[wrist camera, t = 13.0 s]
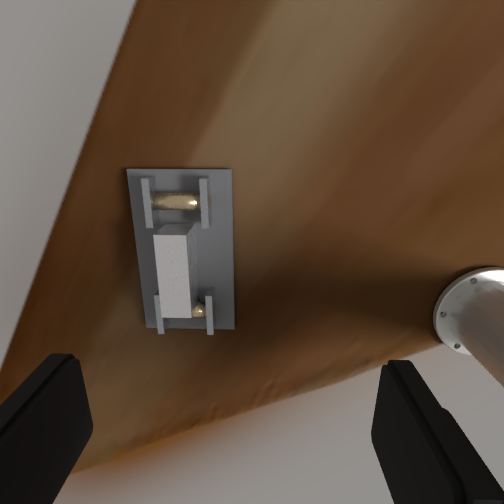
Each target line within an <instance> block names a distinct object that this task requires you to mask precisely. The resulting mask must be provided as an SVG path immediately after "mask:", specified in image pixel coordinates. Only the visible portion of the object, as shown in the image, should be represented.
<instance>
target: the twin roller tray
mask: <svg viewBox="0 0 504 504" xmlns="http://www.w3.org/2000/svg"><path fill="white" fill-rule="evenodd" d="M141 185H142V194H143V203H144V212H145V221H146V228H154V227H155V226H156V225H158V224H159V223H160V219H159V210H193V211H201V224H202V229H209V227H210V226H211V224H212V211H211V187H210V176H203V177H201V178H200V179H199V186H200V193H157V188H156V177H155V176H147V177H144V178H141ZM205 300H206V302H198V303H197V305H196V308H195V311H194V313H193V316H192V318H206V320H207V335H214V331H215V327H216V308H215V287H208V290H207V293H206V295H205ZM154 301H155V310H156V319H157V328H158V334H165V332H166V330H167V328H168V326H169V324H170V322H169V318H162V316H161V306H160V296H159V289H158V290H157V291H156V293H155V294H154Z"/></svg>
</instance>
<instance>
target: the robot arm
mask: <svg viewBox="0 0 504 504" xmlns="http://www.w3.org/2000/svg"><path fill="white" fill-rule="evenodd" d="M433 324H434V329H435V331H436V333H437V335H438V336H439V338H440V339H441V340H442V341H443V342H444V343H445V344H446V345H447V346H448V347H449V348H450V349H452V350H454V351H456V352H459V353H461V354H465V355H473V356H474V357H475V358H476V359H477V360H478V361H479V362H480V363H481V365H483V366H484V368H485V369H486V370H487V371H488V372H489V373H490V374H491V375H492V376H493V377H494V378H495V379H496V380H497V381H498V382H499V383H500V384H501V385H502V386H503V387H504V268H501V267H487V268H481V269H477V270H474V271H471V272H468V273H466V274H464V275H462V276H460V277H459V278H458V279H456V280H455V281H453V282H452V283H451V284H450V285H449V286H448V287H447V288H446V289H445V290H444V291H443V293H442V294H441V295H440V297H439V298H438V301H437V303H436V305H435V308H434V312H433ZM92 431H93V422H92V417H91V412H90V408H89V403H88V398H87V394H86V389H85V384H84V380H83V375H82V370H81V366H80V362H79V360H78V359H75V357H74V355H73V354H56V353H53V354H51V355H49V356H48V357H47V358H46V359H45V360H44V361H43V362H42V363H41V364H40V365H39V366H38V367H37V368H36V369H35V370H34V371H33V372H32V373H31V375H30V376H29V377H28V378H27V379H26V380H25V381H24V382H23V383H22V384H21V385H20V386H19V387H18V388H17V389H16V390H15V391H14V392H13V393H12V394H11V395H10V396H9V397H8V398H7V399H6V400H5V401H4V402H3V403H2V404H1V405H0V504H53V502H54V500H55V498H56V497H57V495H58V493H59V491H60V490H61V488H62V486H63V484H64V483H65V481H66V479H67V477H68V476H69V474H70V472H71V470H72V469H73V467H74V465H75V463H76V462H77V460H78V458H79V456H80V455H81V453H82V451H83V449H84V448H85V446H86V444H87V442H88V441H89V439H90V437H91V434H92ZM371 437H372V443H373V446H374V449H375V452H376V454H377V457H378V460H379V462H380V466H381V468H382V471H383V473H384V477H385V479H386V482H387V485H388V488H389V490H390V493H391V496H392V499H393V501H394V504H504V491H503V489H502V488H501V487H500V485H499V484H498V482H497V481H496V479H495V478H494V476H493V475H492V473H491V472H490V470H489V469H488V467H487V466H486V465H485V463H484V462H483V460H482V459H481V457H480V456H479V454H478V453H477V451H476V450H475V448H474V447H473V445H472V444H471V443H470V441H469V440H468V438H467V437H466V435H465V434H464V432H463V431H462V429H461V428H460V426H459V425H458V423H456V421H455V419H454V418H453V416H452V415H451V414H450V413H449V411H447V410H446V409H444V408H442V407H441V405H440V404H439V402H438V401H437V400H436V398H435V397H434V395H433V394H432V392H431V390H430V389H429V388H428V386H427V384H426V383H425V381H424V380H423V379H422V377H421V375H420V374H419V372H418V371H417V370H416V368H415V367H414V365H413V363H412V362H411V361H409V360H389V361H388V364H387V365H383V366H382V369H381V376H380V381H379V387H378V394H377V399H376V405H375V411H374V418H373V424H372V430H371Z"/></svg>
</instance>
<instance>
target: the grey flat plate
mask: <svg viewBox="0 0 504 504" xmlns="http://www.w3.org/2000/svg"><path fill="white" fill-rule="evenodd" d="M147 176H155V177H156V188H157V193H200V186H199V179H200V178H201V177H203V176H210V187H211V211H212V224H211V226H210V227H209V229H202V224H201V211H193V210H159V219H160V223H159V224H158V225H156V226H155V227H154V228H146V221H145V212H144V203H143V194H142V185H141V178H144V177H147ZM127 177H128V185H129V193H130V201H131V209H132V217H133V225H134V233H135V241H136V249H137V257H138V265H139V273H140V281H141V289H142V297H143V305H144V313H145V321H146V328H157V319H156V310H155V301H154V294H155V293H156V291H157V290H158V289H159V287H158V277H157V267H156V258H155V248H154V238H153V235H154V234H155V233H156V232H157V231H158V230H159V229H160V228H161V227H163V226H164V225H165V224H166V223H195V230H196V247H197V264H198V282H199V300H198V302H206V300H205V295H206V293H207V290H208V287H215V308H216V327H215V329H235V311H234V259H233V207H232V169H127ZM169 322H170V324H169V326H168V328H184V329H207V320H206V318H169Z"/></svg>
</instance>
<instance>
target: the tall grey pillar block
mask: <svg viewBox="0 0 504 504" xmlns="http://www.w3.org/2000/svg"><path fill="white" fill-rule="evenodd" d="M153 238H154V248H155V258H156V267H157V277H158V287H159V296H160V306H161V316H162V318H192V316H193V313H194V311H195V308H196V305H197V303H198V300H199V282H198V264H197V247H196V230H195V223H166V224H165V225H164V226H163V227H161V228H160V229H159V230H158V231H157V232H156V233H155V234H154V235H153Z"/></svg>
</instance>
